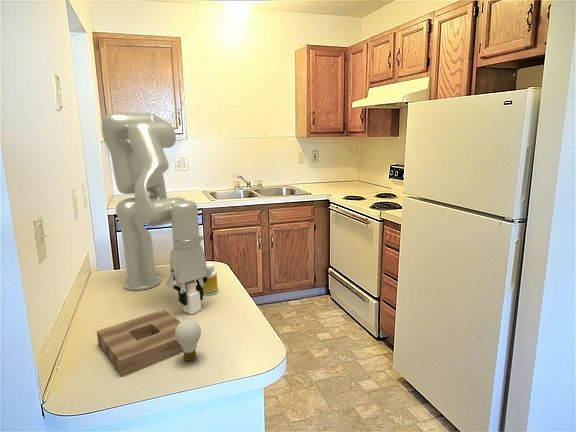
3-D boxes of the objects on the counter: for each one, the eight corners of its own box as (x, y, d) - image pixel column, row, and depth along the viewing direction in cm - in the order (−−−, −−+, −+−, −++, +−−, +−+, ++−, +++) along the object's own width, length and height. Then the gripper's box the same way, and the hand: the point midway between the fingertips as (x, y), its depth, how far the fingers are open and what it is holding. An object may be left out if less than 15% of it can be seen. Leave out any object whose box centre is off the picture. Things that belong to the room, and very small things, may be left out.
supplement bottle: (220, 293, 131) (218, 265, 129) (205, 297, 128) (203, 269, 126) (213, 288, 135) (212, 261, 133) (199, 292, 132) (197, 264, 130)
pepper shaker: (193, 307, 120) (190, 278, 118) (202, 310, 118) (199, 281, 116) (182, 312, 117) (180, 282, 115) (191, 315, 115) (189, 285, 113)
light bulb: (179, 369, 89) (175, 329, 86) (176, 356, 94) (172, 318, 92) (205, 363, 91) (202, 323, 89) (200, 350, 96) (197, 313, 94)
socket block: (98, 345, 100) (96, 331, 99) (165, 322, 111) (164, 309, 110) (121, 376, 87) (119, 360, 86) (195, 346, 98) (193, 332, 97)
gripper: (206, 235, 121) (210, 290, 125) (153, 246, 111) (159, 306, 115) (218, 240, 116) (222, 297, 120) (164, 252, 105) (170, 314, 109)
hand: (191, 300), depth 117 cm, fingers closed on pepper shaker, 4 cm apart
